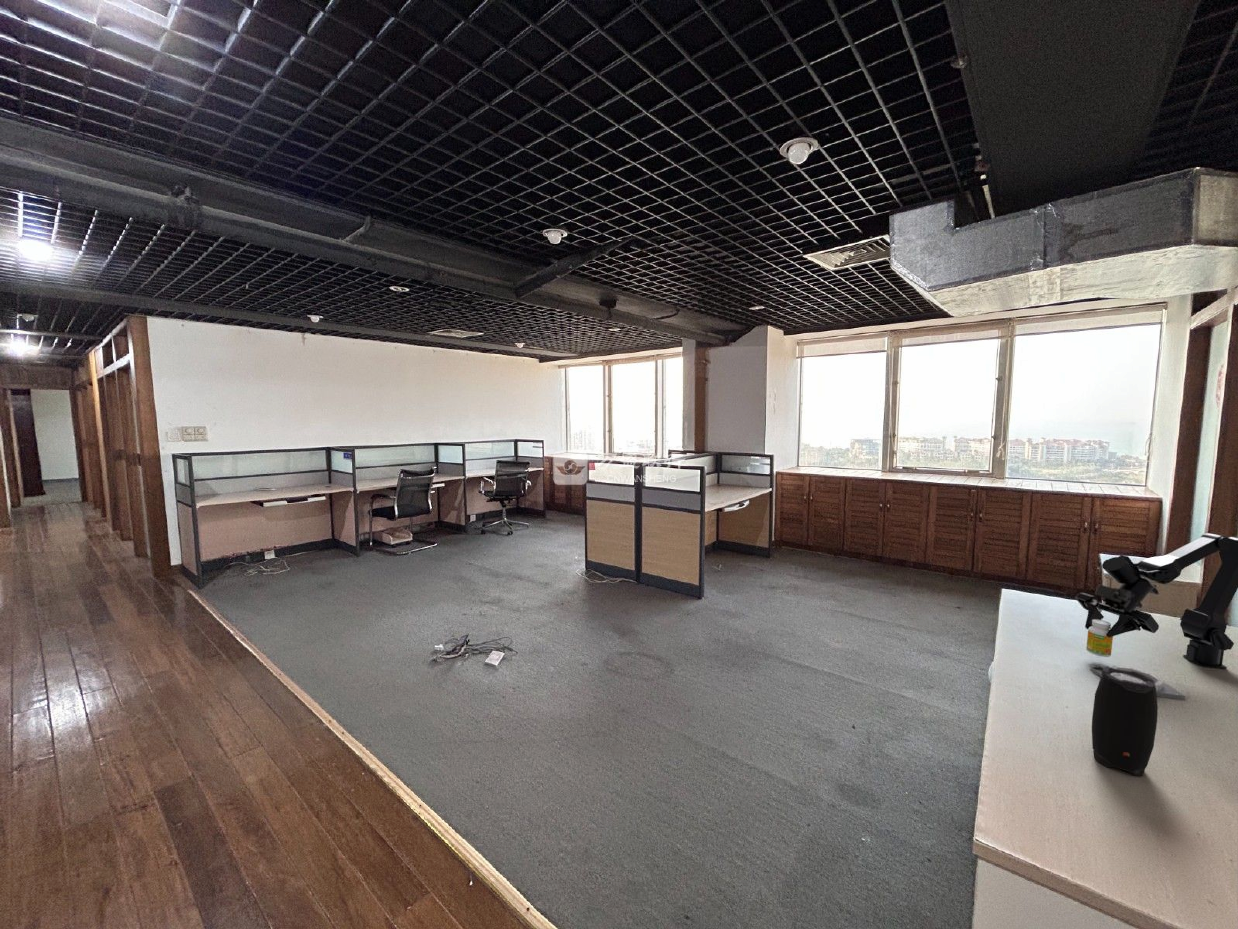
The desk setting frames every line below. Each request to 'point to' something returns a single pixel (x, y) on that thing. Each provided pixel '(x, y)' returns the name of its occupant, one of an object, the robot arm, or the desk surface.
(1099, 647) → the supplement bottle
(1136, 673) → the portable speaker
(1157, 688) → the charging dock
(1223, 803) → the desk surface
